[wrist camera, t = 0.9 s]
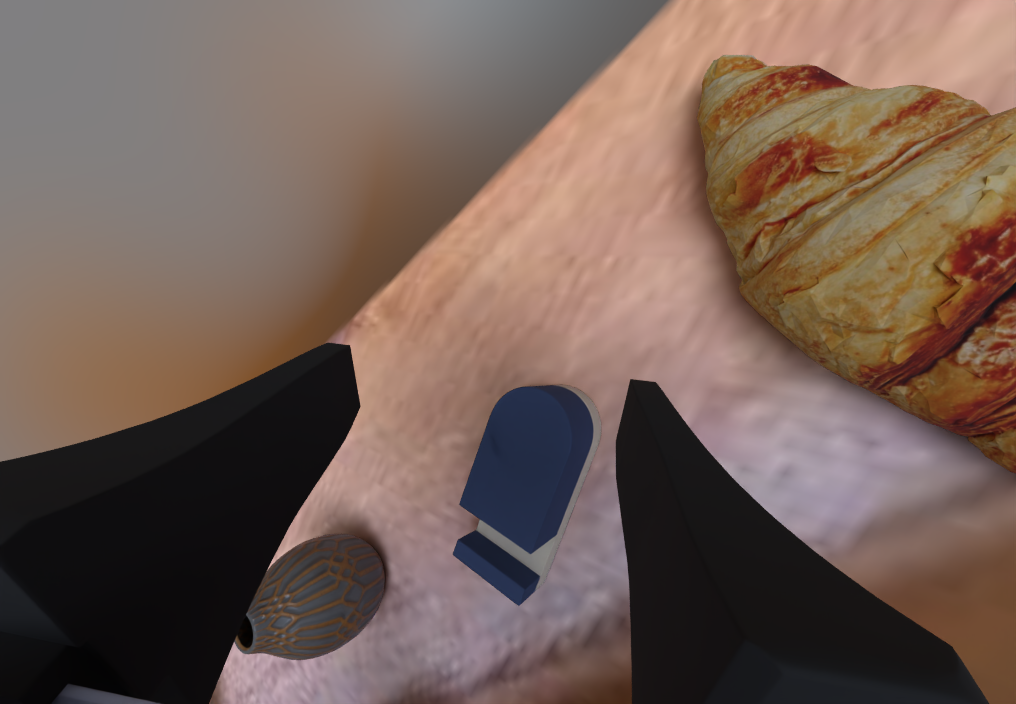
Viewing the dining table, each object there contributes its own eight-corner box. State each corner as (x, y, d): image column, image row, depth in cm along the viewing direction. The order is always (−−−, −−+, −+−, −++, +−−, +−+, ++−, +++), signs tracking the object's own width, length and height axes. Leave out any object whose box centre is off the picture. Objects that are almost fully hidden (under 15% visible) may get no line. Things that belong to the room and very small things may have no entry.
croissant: (677, 165, 26) (581, 163, 21) (839, -46, 18) (745, -119, 14) (993, 503, 19) (950, 611, 14) (1477, 380, 11) (1726, 525, 6)
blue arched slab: (544, 583, 25) (506, 617, 22) (481, 537, 28) (438, 562, 24) (614, 405, 24) (586, 410, 20) (541, 372, 26) (504, 372, 22)
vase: (362, 639, 32) (238, 721, 25) (321, 555, 35) (197, 605, 27) (416, 590, 30) (297, 663, 22) (367, 503, 33) (246, 543, 25)
